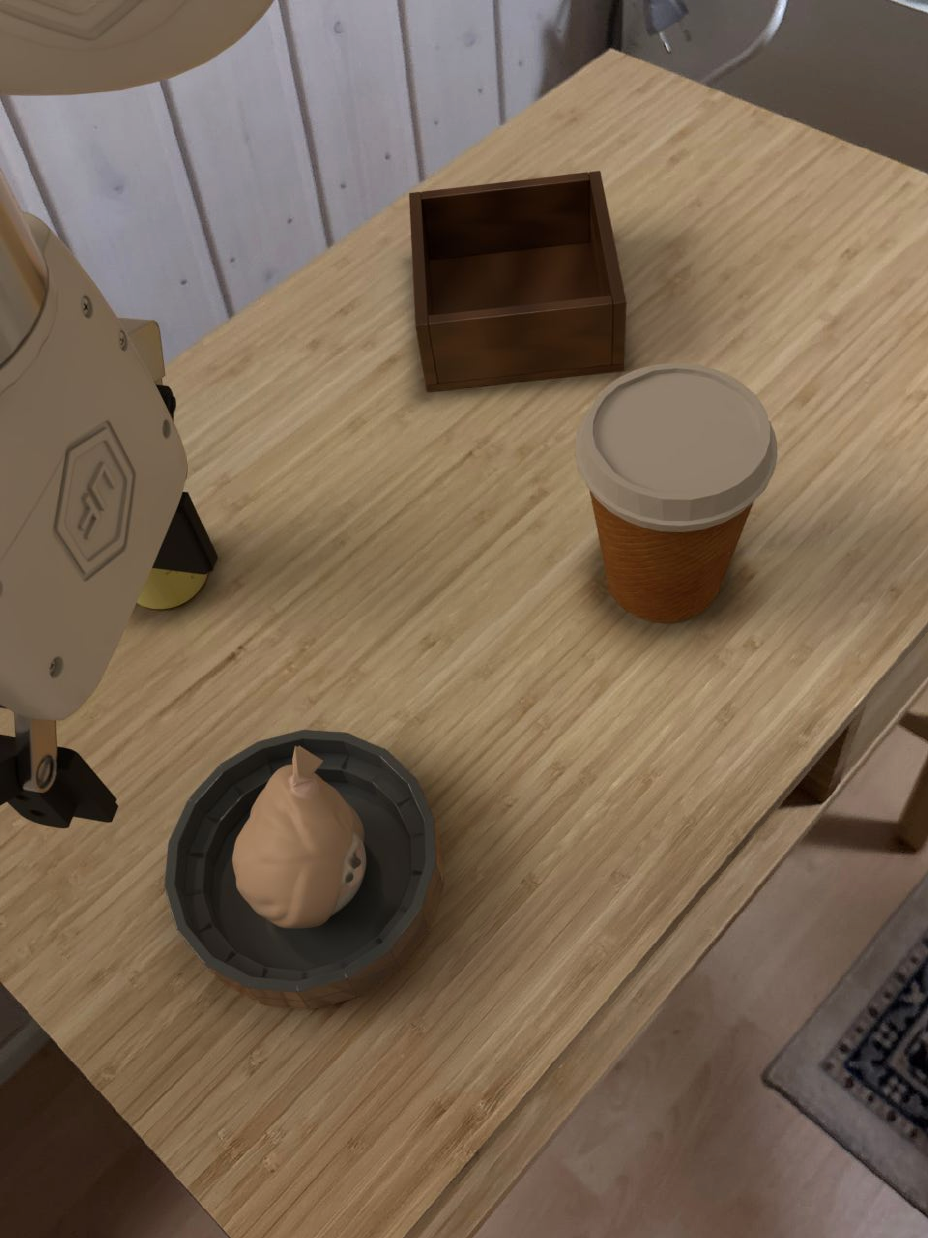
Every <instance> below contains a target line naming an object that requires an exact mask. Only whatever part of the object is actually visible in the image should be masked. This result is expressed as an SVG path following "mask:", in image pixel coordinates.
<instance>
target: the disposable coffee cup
mask: <svg viewBox="0 0 928 1238" xmlns="http://www.w3.org/2000/svg"><path fill="white" fill-rule="evenodd" d="M574 443H575V444H574V455H575V461H576V467H577V470H578V473H579V474H580V476H581V478H582V480H583V482H584V484H585V485H586V488H587V489H588V491H589V494H590V495H589V497H590V499H591V505H592V510H593V515H594V520H595V526H596V530H597V535H598V540H599V546H600V551H601V554H602V556H601V557H602V561H603V565H604V569H605V570H604V571H605V575H606V582H607V587H608V589H609V592H610V594H611V596H612V597H613V599H614V600H615V601H616V602H617V604H618V605H619V606H621V607H622V609H624V610H625V611H626V612H628V613H630V614H631V615H633V616H635V617H637V618H640V619H643V620H645V621H649V622H655V623H669V624H670V623H677V622H682V621H686V620H690V619H691V618H693V617H695V616H697V615H699V614H701V613H703V612H704V611H705V610H707V609H708V608H709V607H710V606H711V604H712V603H713V602H714V601H715V600H716V598H717V596H718V594H719V592H720V589H721V587H722V584H723V581H724V579H725V577H726V574H727V571H728V569H729V567H730V564H731V561H732V559H733V556H734V553H735V551H736V548H737V546H738V544H739V541H740V539H741V536H742V533H743V531H744V529H745V525H746V523H747V522H748V518H749V516H750V513H751V511H752V508H753V506H754V502H755V501H756V500H757V499H758V497H759V496H760V495H762V493H764V492H765V490H766V488H767V487H768V485H769V483H770V481H771V479H772V477H773V475H774V473H775V470H776V466H777V461H778V457H779V455H778V454H779V453H778V441H777V436H776V432H775V430H774V427H773V425H772V423H771V421H770V420H769V415H768V413H767V411H766V409H765V407H764V405H763V403H762V402H761V400H760V399H759V398H758V396H757V395H756V394H755V392H754V391H753V390H752V389H750V388H749V387H747V386H746V385H745V384H744V383H742V382H741V381H740V380H739V379H737V378H735V377H734V376H732V375H730V374H728V373H726V372H724V371H721V370H718V369H715V368H712V367H709V366H706V365H700V364H693V363H690V362H689V363H688V362H687V363H686V362H668V363H657V364H653V365H647V366H643V367H639V368H638V369H634V370H632V371H629V372H628V373H625V374H623V375H621V376H619V377H618V378H617V379H615V380H614V381H612V382H610V383H609V384H608V385H607V386H606V387H605V388H604V389H603V390H601V392H599V394H597V396H596V398H595V399H594V401H593V402H592V404H591V406H590V408H589V410H588V411H587V412H586V414H585V415H584V416H583V418H582V420H581V422H580V424H579V426H578V429H577V433H576V437H575V442H574Z"/></svg>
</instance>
